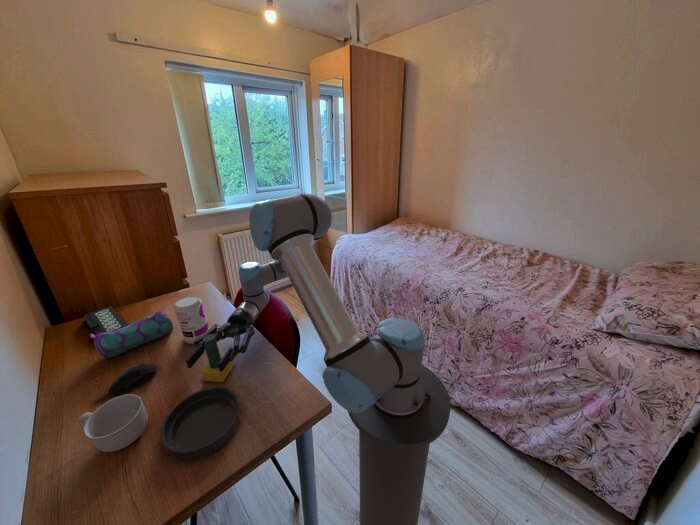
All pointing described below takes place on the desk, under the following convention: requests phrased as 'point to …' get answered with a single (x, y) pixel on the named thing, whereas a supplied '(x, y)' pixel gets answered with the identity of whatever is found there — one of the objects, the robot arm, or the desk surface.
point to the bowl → (201, 423)
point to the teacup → (115, 423)
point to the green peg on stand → (213, 361)
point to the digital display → (103, 321)
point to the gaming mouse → (131, 379)
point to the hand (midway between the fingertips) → (203, 366)
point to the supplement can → (191, 318)
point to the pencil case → (132, 335)
